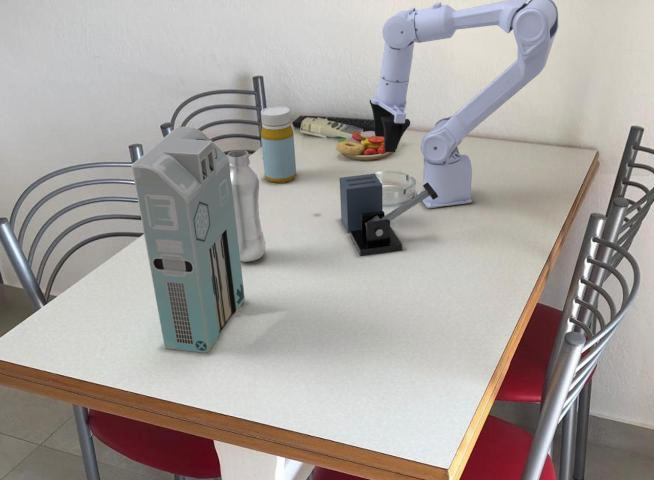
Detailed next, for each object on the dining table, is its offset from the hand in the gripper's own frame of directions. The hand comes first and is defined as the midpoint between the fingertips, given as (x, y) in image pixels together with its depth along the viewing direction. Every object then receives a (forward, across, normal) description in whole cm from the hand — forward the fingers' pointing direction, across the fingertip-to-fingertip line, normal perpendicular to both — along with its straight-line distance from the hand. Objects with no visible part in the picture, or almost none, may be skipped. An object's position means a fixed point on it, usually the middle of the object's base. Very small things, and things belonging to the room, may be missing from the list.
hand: (384, 143), depth 177 cm
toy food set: (+13, -24, +4) cm, 28 cm away
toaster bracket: (+10, +24, -7) cm, 26 cm away
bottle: (+15, -14, -18) cm, 27 cm away
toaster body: (+10, +15, -7) cm, 19 cm away
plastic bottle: (+13, +23, -31) cm, 40 cm away
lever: (+4, +23, -2) cm, 24 cm away
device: (+12, +44, -41) cm, 62 cm away
